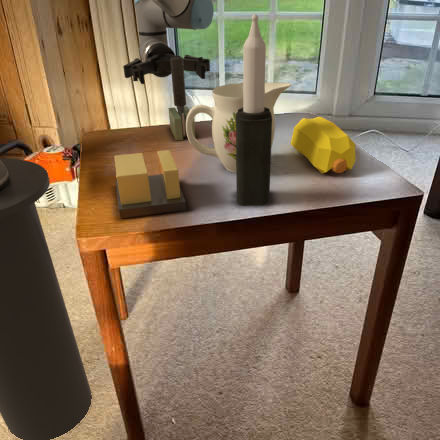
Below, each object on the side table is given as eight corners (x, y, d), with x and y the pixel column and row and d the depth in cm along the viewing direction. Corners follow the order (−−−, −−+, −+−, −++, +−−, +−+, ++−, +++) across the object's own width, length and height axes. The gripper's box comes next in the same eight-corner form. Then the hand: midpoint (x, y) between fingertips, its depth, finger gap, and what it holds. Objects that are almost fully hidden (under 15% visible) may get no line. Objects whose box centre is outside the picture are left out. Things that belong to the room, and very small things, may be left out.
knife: (174, 130, 102) (168, 56, 93) (186, 128, 102) (180, 55, 94) (178, 138, 97) (172, 61, 88) (190, 136, 98) (185, 60, 89)
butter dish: (116, 187, 77) (110, 152, 73) (174, 180, 78) (171, 146, 75) (120, 218, 67) (113, 180, 64) (186, 210, 69) (183, 172, 65)
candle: (269, 205, 70) (276, 15, 55) (236, 205, 70) (234, 17, 55) (267, 191, 74) (274, 11, 59) (236, 192, 74) (234, 13, 59)
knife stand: (170, 128, 103) (168, 107, 100) (188, 126, 104) (186, 106, 101) (176, 140, 96) (174, 118, 93) (195, 138, 97) (194, 116, 94)
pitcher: (189, 158, 87) (183, 81, 79) (281, 154, 87) (285, 76, 79) (188, 180, 78) (182, 96, 70) (291, 175, 79) (297, 91, 70)
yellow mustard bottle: (320, 143, 92) (285, 147, 91) (324, 108, 88) (286, 112, 87) (361, 176, 78) (319, 181, 76) (368, 136, 74) (324, 141, 72)
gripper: (207, 71, 120) (228, 88, 104) (113, 78, 116) (118, 98, 99) (206, 39, 116) (227, 51, 99) (107, 45, 111) (112, 60, 95)
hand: (173, 74), depth 99 cm, fingers open, 13 cm apart
